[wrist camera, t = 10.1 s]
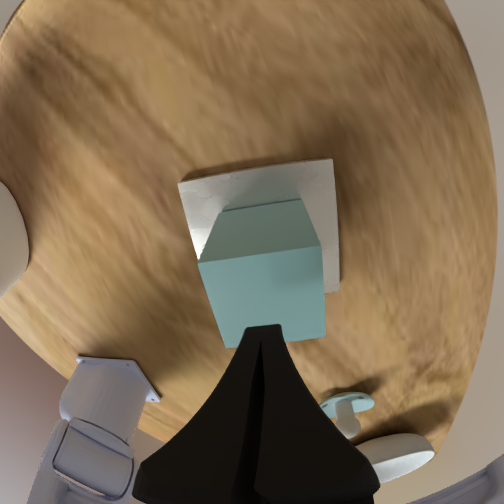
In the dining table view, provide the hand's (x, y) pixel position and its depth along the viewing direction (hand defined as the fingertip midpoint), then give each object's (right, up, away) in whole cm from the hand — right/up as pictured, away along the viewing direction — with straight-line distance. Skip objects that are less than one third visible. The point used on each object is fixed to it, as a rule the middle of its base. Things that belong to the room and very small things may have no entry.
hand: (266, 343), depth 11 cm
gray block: (0, +5, +9) cm, 10 cm away
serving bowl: (+22, -32, +27) cm, 47 cm away
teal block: (0, +4, +8) cm, 9 cm away
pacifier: (+10, -14, +19) cm, 26 cm away
